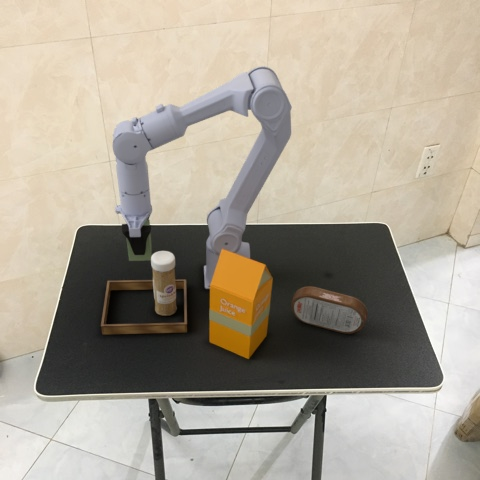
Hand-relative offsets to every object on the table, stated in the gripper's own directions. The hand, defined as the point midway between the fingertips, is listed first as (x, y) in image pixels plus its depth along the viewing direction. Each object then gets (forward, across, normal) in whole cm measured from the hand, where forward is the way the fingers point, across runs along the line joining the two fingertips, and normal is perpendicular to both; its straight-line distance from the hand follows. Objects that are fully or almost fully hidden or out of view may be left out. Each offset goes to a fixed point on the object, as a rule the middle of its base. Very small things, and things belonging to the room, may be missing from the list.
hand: (140, 246), depth 113 cm
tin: (+10, +16, +37) cm, 41 cm away
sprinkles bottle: (+10, +9, +5) cm, 14 cm away
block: (+2, 0, 0) cm, 2 cm away
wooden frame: (+9, +9, +1) cm, 13 cm away
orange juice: (+10, +18, +19) cm, 28 cm away
